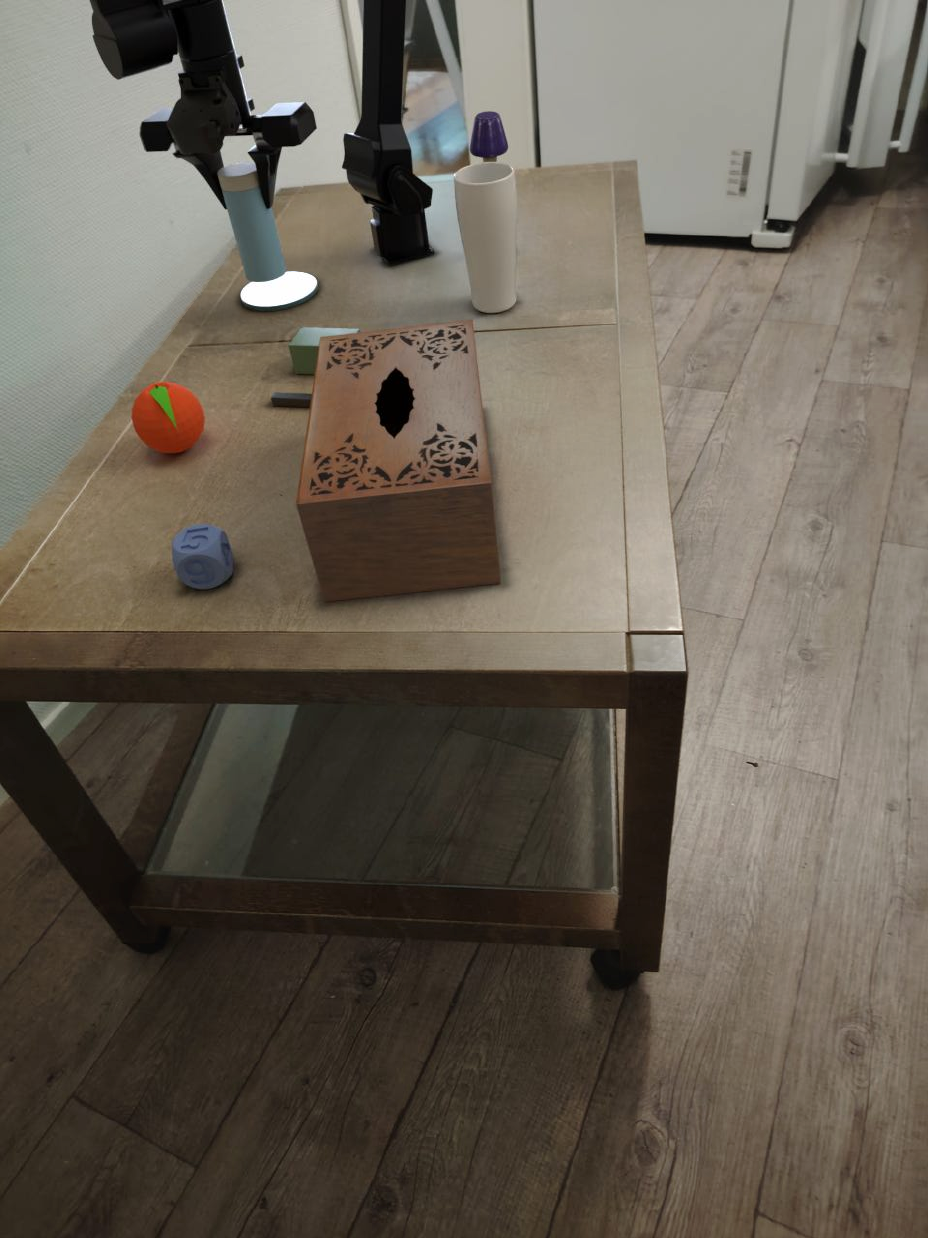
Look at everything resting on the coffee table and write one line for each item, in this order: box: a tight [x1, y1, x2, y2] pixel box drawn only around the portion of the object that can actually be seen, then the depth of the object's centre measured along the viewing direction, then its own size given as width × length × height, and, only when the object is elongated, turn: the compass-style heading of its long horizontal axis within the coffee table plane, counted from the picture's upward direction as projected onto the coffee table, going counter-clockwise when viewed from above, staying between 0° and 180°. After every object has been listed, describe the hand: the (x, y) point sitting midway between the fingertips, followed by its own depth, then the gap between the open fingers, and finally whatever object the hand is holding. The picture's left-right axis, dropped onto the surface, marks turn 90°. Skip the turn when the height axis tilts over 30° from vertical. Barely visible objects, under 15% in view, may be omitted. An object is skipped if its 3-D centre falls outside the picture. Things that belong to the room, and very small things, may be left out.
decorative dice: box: [171, 523, 234, 590], centre depth 75 cm, size 4×4×4 cm
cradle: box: [270, 327, 361, 408], centre depth 97 cm, size 11×7×4 cm, turn 166°
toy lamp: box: [469, 110, 509, 163], centre depth 111 cm, size 5×5×17 cm
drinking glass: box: [453, 161, 518, 314], centre depth 102 cm, size 7×7×15 cm
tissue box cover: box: [295, 318, 502, 603], centre depth 78 cm, size 26×14×10 cm, turn 3°
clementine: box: [131, 381, 206, 454], centre depth 89 cm, size 8×7×7 cm
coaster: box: [239, 271, 319, 312], centre depth 115 cm, size 10×10×1 cm
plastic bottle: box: [217, 161, 288, 282], centre depth 105 cm, size 12×5×12 cm
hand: (248, 207), depth 103 cm, fingers closed on plastic bottle, 5 cm apart
